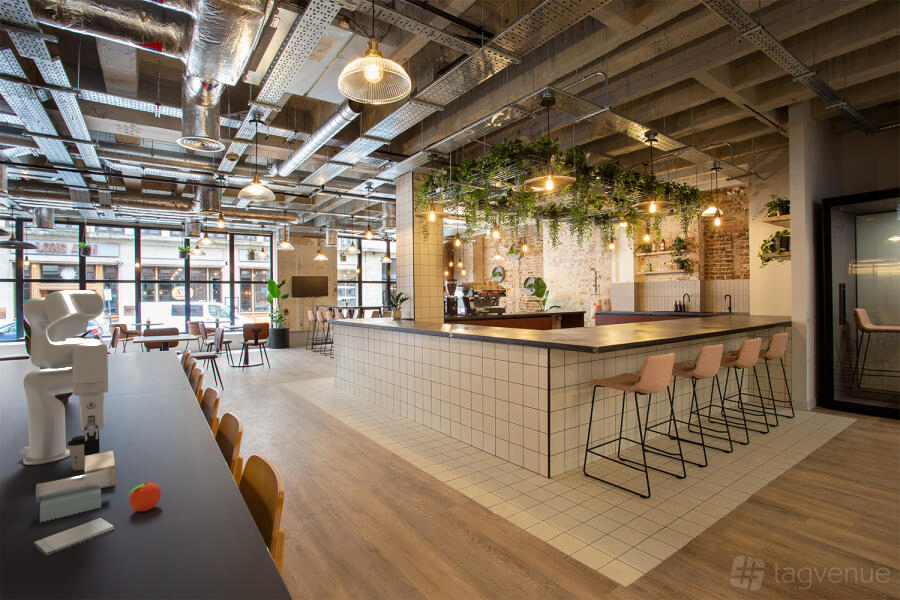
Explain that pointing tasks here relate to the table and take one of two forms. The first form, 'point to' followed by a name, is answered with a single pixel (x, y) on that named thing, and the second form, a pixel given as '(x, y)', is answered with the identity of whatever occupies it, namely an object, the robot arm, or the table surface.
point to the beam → (101, 464)
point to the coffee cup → (77, 452)
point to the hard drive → (74, 535)
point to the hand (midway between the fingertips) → (92, 448)
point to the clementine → (144, 496)
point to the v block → (70, 504)
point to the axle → (72, 485)
